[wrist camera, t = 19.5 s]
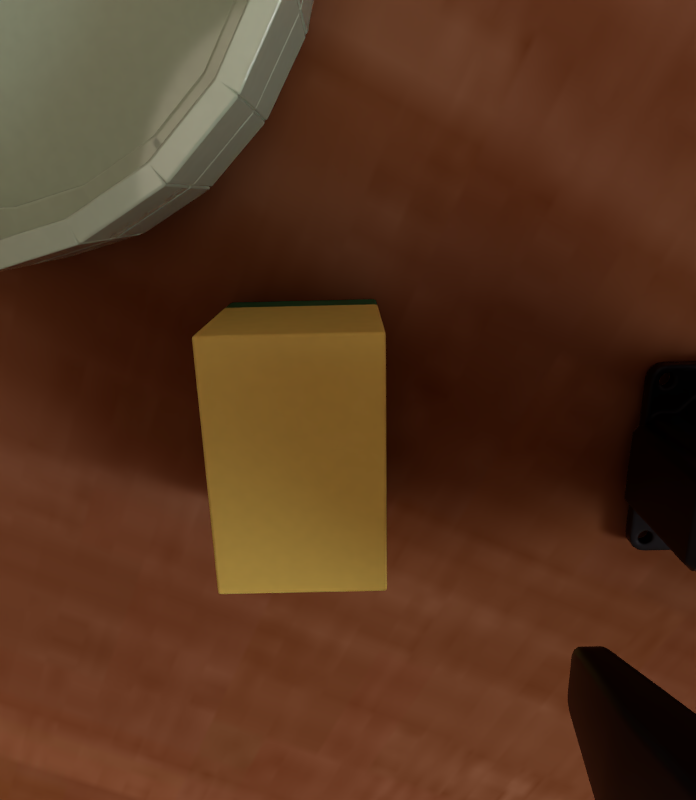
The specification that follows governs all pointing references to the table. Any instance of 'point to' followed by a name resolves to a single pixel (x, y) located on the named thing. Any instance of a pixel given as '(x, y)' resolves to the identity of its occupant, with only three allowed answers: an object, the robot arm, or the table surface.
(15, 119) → the bowl
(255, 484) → the sponge
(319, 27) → the table surface
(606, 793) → the robot arm
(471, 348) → the table surface
